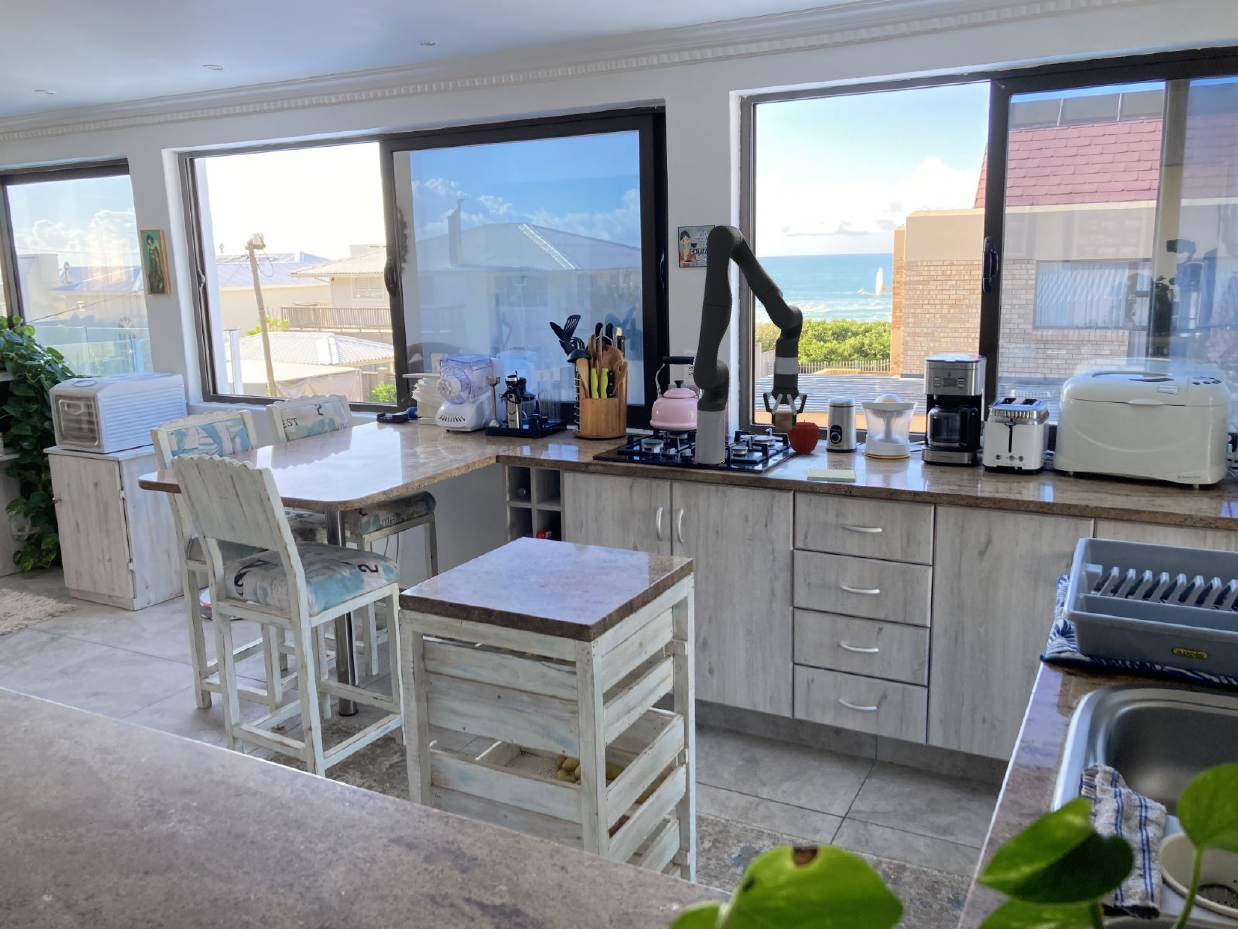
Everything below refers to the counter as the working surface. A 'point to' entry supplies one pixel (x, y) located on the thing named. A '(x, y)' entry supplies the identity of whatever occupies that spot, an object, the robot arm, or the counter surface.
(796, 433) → the apple
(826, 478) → the sage board
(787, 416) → the walnut cube
